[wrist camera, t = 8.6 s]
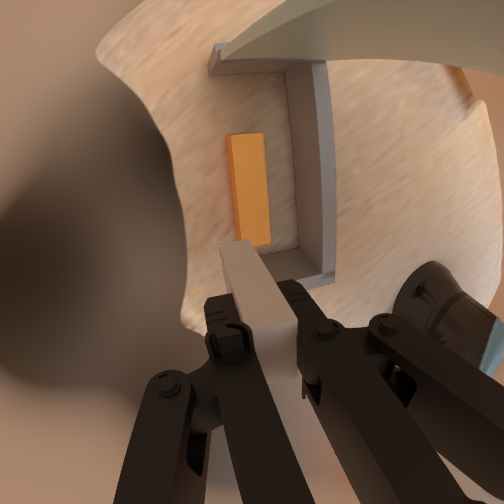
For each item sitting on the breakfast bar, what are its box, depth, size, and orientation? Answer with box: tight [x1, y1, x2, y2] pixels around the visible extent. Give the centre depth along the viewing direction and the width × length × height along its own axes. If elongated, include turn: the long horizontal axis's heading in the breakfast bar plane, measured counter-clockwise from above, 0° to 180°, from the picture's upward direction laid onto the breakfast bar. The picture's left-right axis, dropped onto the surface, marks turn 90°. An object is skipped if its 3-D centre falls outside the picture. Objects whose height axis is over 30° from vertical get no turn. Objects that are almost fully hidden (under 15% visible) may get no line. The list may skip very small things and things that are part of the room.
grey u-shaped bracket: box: [208, 43, 336, 290], centre depth 27 cm, size 25×10×7 cm, turn 6°
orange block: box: [226, 132, 271, 247], centre depth 29 cm, size 12×3×4 cm, turn 5°
